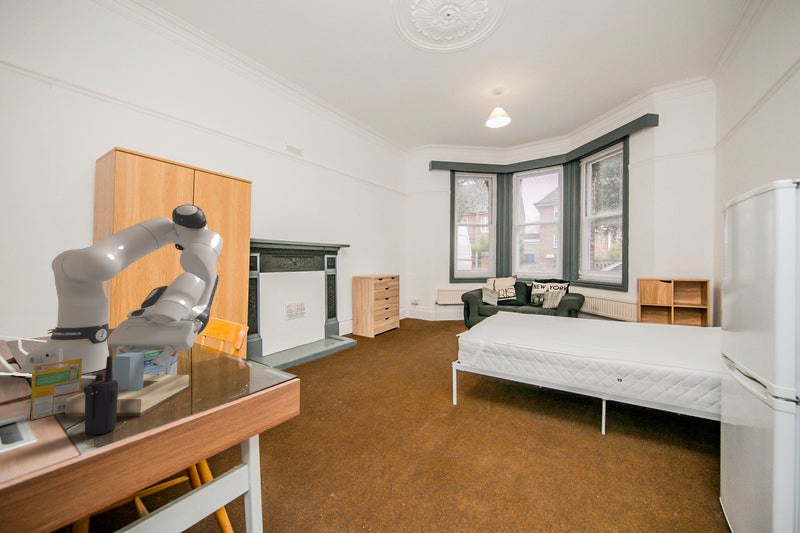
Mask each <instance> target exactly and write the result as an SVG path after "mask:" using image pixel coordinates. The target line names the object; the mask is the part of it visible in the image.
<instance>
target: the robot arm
mask: <svg viewBox="0 0 800 533" xmlns="http://www.w3.org/2000/svg"><path fill="white" fill-rule="evenodd" d="M171 244H174V247H175V249H176V250H178V251H181V254H180V257H179V264H180V267H181V268H182V270H183V271H184V272H182V273H180V274H179V275H178V276H177V277H176V278H175V279H174V280H173V281H172V282H171V283H170V284H169V285H162V286H158V287H155V288H154V289H152V290H151V291H150V293H149V294H148V295H147V296H146V298H145V299H144V301H143V302H142V303H141V304H140V308H139V309H134V310H131V311H129V312H128V313H127V315H126V317H127V319H125V320H122V321H121V322H120V323H119V324H118V325H117V326H116V327H115V328H114V329H113V331H112V332H111V333H110V334H109V331H110V330H109V329H110V325H109V323H108V312H109V311H108V310H109V309H108V308H109V301H108V298H107V296H106V293H105V290H104V285H103V282H107V281H109V280H111V279H113V278H115V277H117V276H118V274H120V272H122V271H124V270H126V269H127V268H129V266H131V265H132V264H133V263H135V262H136V261H139V260H140V259H142V258H144V257H146V256H148V255H150V254H151V253H154V252H156V251H157V250H159V249H161V248H163V247H164V246H166V245H171ZM223 247H224V239H223V237H222V236H221V234H219V233H217V232H215V231H213V230H210V229H209V226H208V221H207V216H206V215H205V213H204V212H203V210H202V209H201V207H199V206H196V205H194V204H181V205H179V206H177V207H175V208H174V209H173V210H172V213H171V219H170V218H168V217H167V216H166V217H165V216H158V217H154V218H150V219H147V220H143V221H141V222H140V221H139V222H138V223H136V224H134V225H131V226H129V227H126V228H123V229H122V230H119V231H116V232H114V233H111V234H110V235H109V236H107V237H106V238H104V239H102V240H101V241H99V242H97V243H95V244H92V245H91V246H88V247H87V246H86V247H84V248H72V249H68V250H65V251H63V252H61V253H58V255H56V256H55V257H54V259H53V260H52V261H51V270H52V272H53V275H54V276H53V277H54V284H55V291H56V296H57V305H58V306H57V307H58V308H57V325H56V327H55V328H52V329H48V330H47V331H48V332H47V334H51V335H50V338H49V340H47V341H46V342H44V343H42V344H41V345H40V346H38V347H37V348H35V349H32V350H31V351H30V352H28V353H27V355H26V356H25V359H24V365H23V367H21V368H18V369H16V370H15V371H16V372H20V373H29V374H32V372H34V366H35V365H41V364H48V363H54V362H61V361H67V360H74V359H81V358H82V375H83V374H88V373H93V372H97V371H98V372H99V371H101V370H104V369H105V370H106V361H107V357H108V356H110V353H109V347H110V349H112V350H113V351H115V356H116V355H119V354H123V353H126V352H128V351H129V350H131V351H164V352H163V353H161V354H160V355H159V356H155V357H154V359H153V360H152V364H153V365H157V366H160V365H162V363H163V361H164V360H165V359H167V358H168V357H169V356H171V355H172V354H173V353H174V351H178V352H187V351H189V350H190V349H191V348H192V347H193V346H194V344H195V342H196V340H197V337H198V335H200V334H201V333H203V331H204V330H205V329H206V328H207V325H208V324H209V322H210V317H211V316H210V315H211V308H212V305H213V301H214V298H215V295H216V290H217V287H218V282H219V275H218V272H217V261H218V260H219V259H220V256H221V253H222V251H223ZM112 364H113V360H112ZM65 366H69V363H67V364H57V365H54V366H49V369H52V368H61V367H65ZM26 378H30V379H32V377H26Z"/></svg>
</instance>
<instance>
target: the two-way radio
mask: <svg viewBox="0 0 800 533" xmlns="http://www.w3.org/2000/svg"><path fill="white" fill-rule="evenodd" d="M112 361H113V356H112V355H109V356H108V357H107V361H106V368H105V372H104V373H103V372H98V373H96V375H95V377H94V378H95V380H93V381H91V382H90V383H89V384H87V386H84V387H83V392H84V393H85V416H84V433H86V434H90V435H100V434H101V435H103V434H106V433H110V432H111V431H113V430H115V428H116V426H117V425H116V423H117V422H116V421H117V416H116V413H117V397H118V382H117V381H116V380H112V376H113V363H112ZM104 374H105V376H104ZM83 392H82V393H83Z"/></svg>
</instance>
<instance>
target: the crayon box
mask: <svg viewBox="0 0 800 533" xmlns="http://www.w3.org/2000/svg"><path fill="white" fill-rule="evenodd" d="M67 363H69V366H65V367H61V368H52V369H49V366H54V365H57V364H67ZM82 377H83V374H82V358H81V359H74V360H67V361H61V362H54V363H48V364H41V365H35V366H34V372H32V378H31V388H30V389H31V391H30V392H31V393H30V408H29V410H30V411H29V412H30V413H29V417H30V420H31V421H34V420H33V419H35V420H37V419H41V418H45V417H46V418H47V417H49V416H54V415H57V414H61V413H62V414H63V413H65V407H66V399H67V398H70V397H72V396H75V395H77V394H80V393H82V379H83V378H82Z"/></svg>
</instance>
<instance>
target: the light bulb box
mask: <svg viewBox="0 0 800 533" xmlns="http://www.w3.org/2000/svg"><path fill="white" fill-rule="evenodd" d="M128 352H145V354H144V375H178V360H179V359H178V357H179V351H174V353H173V354H172V355H171V356H169V357H168V358H167V359H165V360H164V361H163V363H162V365H160V366H157V365H153V364H152V360H153V359H154V357H155V356H159V355H160V354H161V353H163V352H164V351H131V350H129V351H128Z"/></svg>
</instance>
